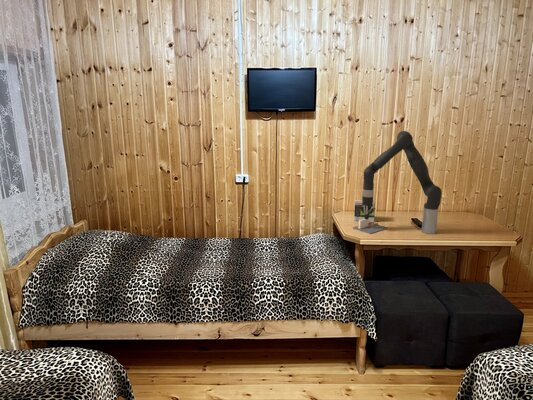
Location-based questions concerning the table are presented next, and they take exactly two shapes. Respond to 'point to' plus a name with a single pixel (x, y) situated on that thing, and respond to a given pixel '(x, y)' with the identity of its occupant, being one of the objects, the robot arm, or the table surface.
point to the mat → (371, 229)
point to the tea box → (359, 214)
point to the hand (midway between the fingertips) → (366, 219)
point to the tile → (362, 223)
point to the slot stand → (372, 223)
